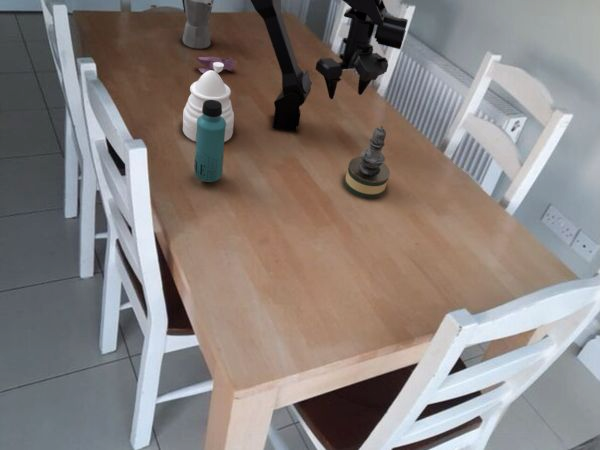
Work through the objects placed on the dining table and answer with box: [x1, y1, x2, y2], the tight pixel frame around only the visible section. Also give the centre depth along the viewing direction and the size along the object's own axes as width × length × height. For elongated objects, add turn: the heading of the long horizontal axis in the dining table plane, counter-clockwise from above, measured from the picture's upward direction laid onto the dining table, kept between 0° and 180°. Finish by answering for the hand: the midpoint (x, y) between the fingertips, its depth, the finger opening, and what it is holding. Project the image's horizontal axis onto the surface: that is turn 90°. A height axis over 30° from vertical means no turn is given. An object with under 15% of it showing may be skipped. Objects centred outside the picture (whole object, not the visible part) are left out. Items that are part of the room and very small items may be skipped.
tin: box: [344, 156, 391, 199], centre depth 136 cm, size 10×10×5 cm
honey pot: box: [182, 62, 235, 143], centre depth 140 cm, size 13×13×18 cm
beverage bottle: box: [193, 100, 226, 183], centre depth 123 cm, size 6×7×20 cm
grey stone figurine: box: [359, 125, 387, 175], centre depth 131 cm, size 6×6×12 cm
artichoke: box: [196, 56, 238, 74], centre depth 170 cm, size 5×4×12 cm
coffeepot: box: [181, 0, 214, 50], centre depth 178 cm, size 15×9×18 cm, turn 44°
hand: (345, 96), depth 144 cm, fingers open, 9 cm apart
